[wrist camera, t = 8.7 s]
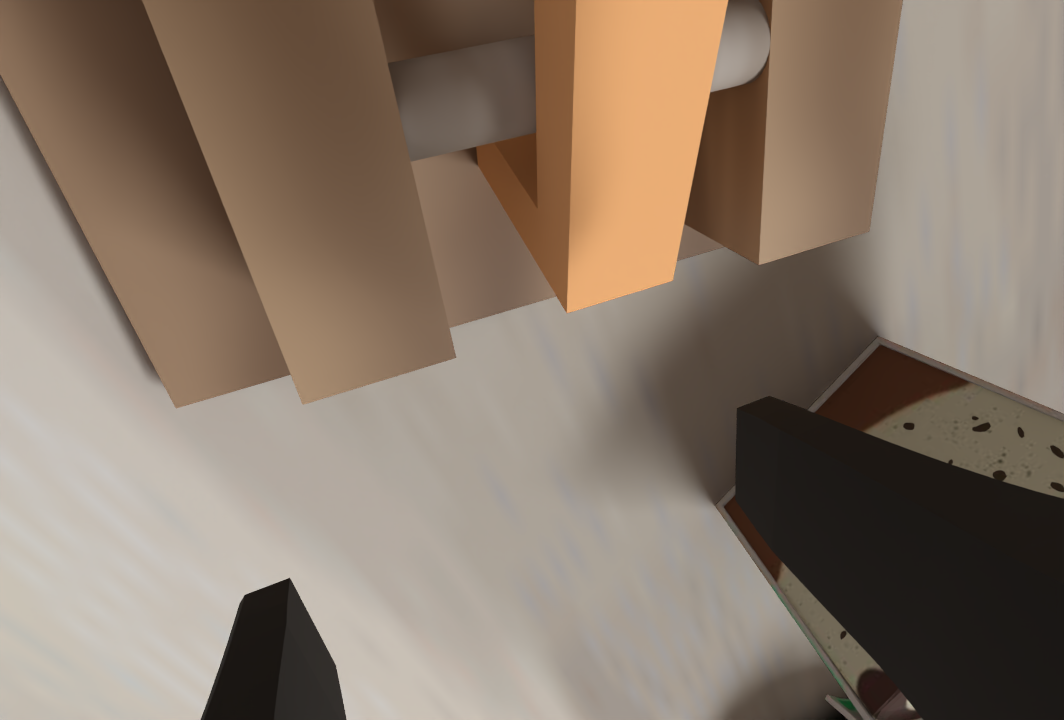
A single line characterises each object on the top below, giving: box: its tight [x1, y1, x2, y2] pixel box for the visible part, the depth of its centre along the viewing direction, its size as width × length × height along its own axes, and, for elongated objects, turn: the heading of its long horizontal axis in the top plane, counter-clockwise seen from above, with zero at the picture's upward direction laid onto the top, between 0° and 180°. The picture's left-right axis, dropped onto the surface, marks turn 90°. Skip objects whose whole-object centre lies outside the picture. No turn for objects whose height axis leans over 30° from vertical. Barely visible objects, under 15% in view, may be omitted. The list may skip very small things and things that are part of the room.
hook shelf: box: [0, 0, 903, 408], centre depth 14 cm, size 20×13×6 cm, turn 98°
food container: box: [715, 336, 1064, 720], centre depth 24 cm, size 12×6×10 cm, turn 137°
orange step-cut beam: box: [476, 0, 728, 313], centre depth 12 cm, size 2×7×6 cm, turn 9°
